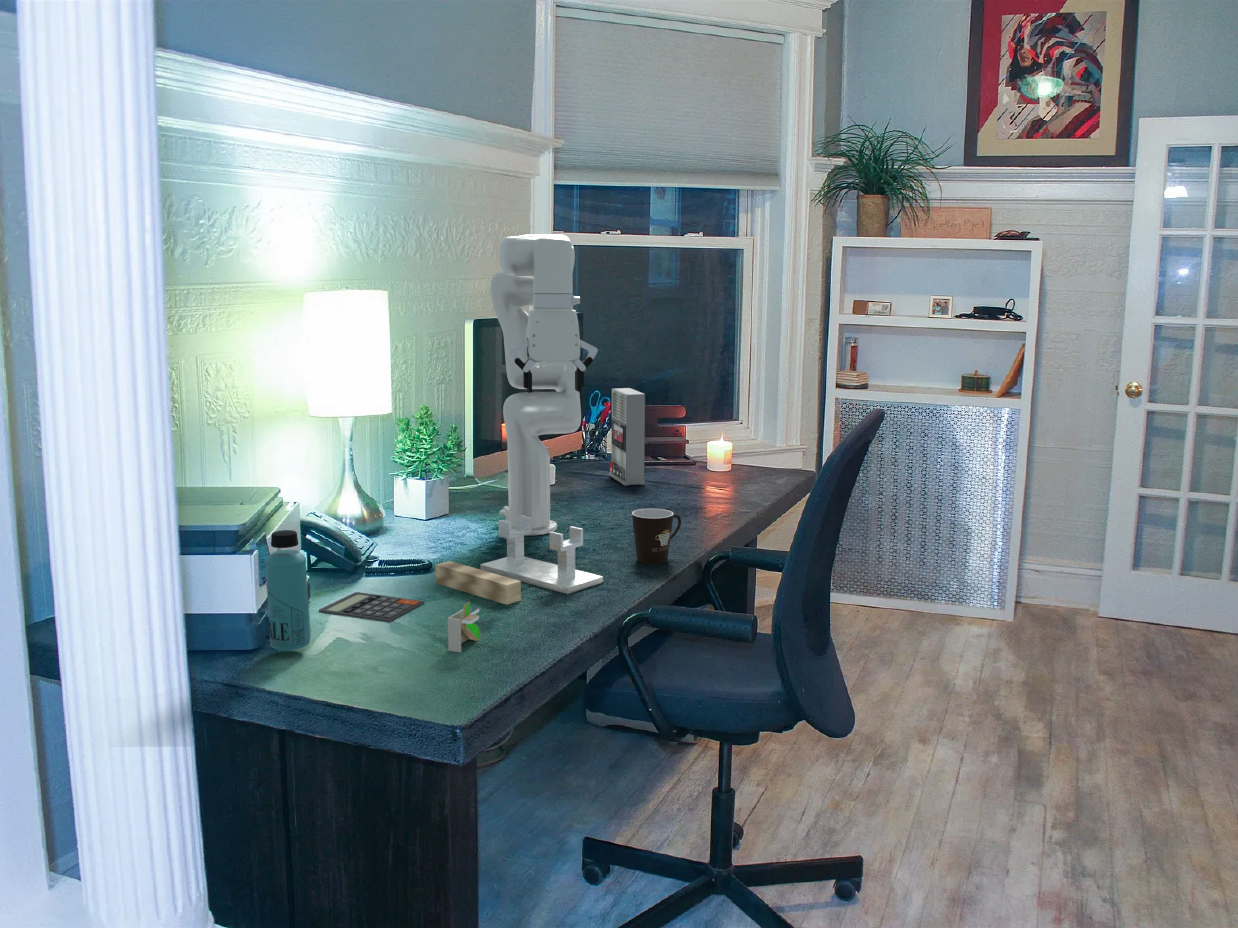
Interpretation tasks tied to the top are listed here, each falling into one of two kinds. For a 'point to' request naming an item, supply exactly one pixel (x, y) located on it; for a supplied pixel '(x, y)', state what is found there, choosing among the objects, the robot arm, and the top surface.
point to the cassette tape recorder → (628, 436)
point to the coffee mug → (653, 534)
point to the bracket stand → (540, 571)
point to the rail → (478, 582)
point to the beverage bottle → (287, 594)
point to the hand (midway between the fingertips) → (553, 391)
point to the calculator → (372, 606)
